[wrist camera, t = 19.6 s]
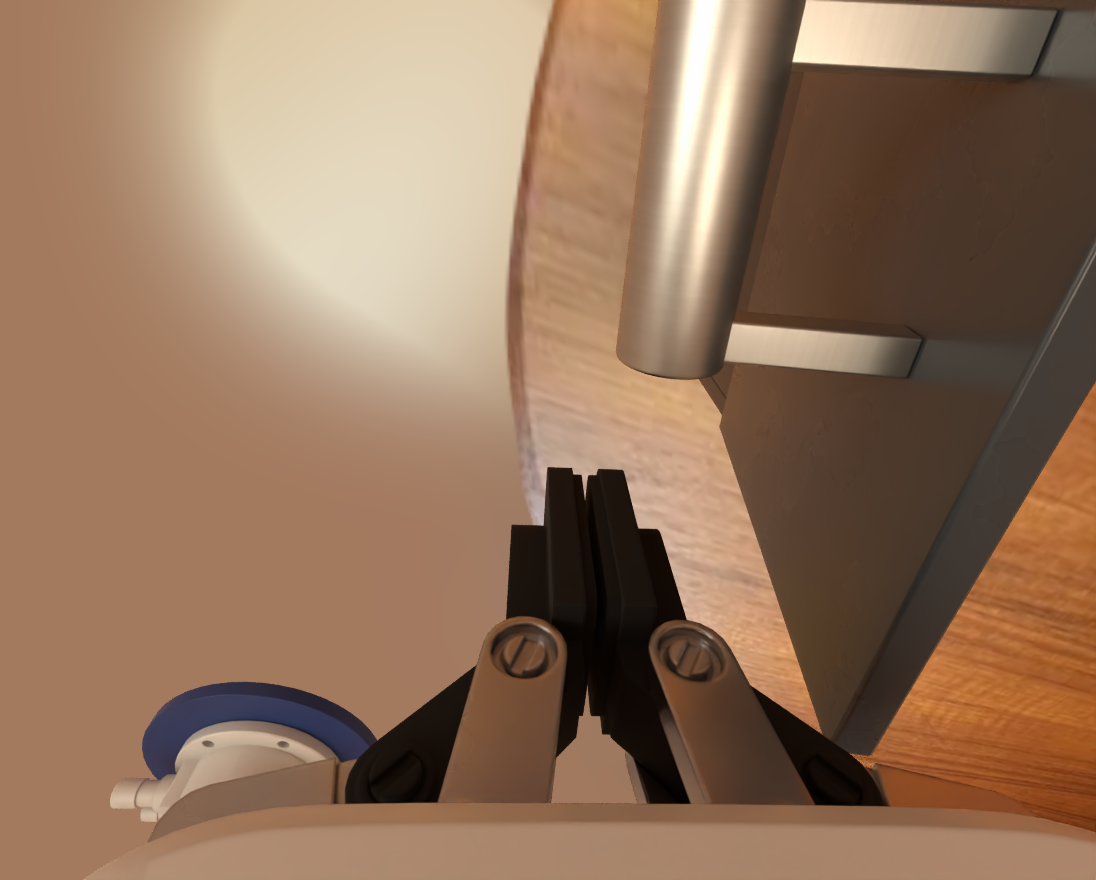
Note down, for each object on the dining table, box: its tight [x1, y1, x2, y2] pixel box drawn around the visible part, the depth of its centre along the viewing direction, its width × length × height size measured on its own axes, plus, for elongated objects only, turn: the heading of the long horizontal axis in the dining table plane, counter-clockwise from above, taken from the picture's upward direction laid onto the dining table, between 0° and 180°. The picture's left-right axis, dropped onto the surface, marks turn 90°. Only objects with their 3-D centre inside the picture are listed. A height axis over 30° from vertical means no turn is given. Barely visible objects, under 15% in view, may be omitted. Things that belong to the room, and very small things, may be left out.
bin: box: [699, 71, 804, 414], centre depth 21 cm, size 12×18×9 cm, turn 177°
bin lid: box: [616, 0, 1096, 756], centre depth 11 cm, size 13×18×5 cm
